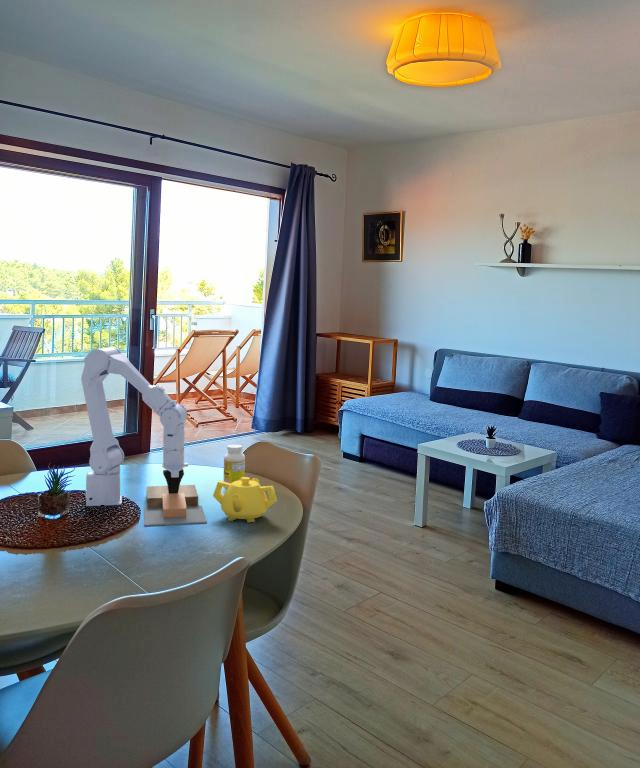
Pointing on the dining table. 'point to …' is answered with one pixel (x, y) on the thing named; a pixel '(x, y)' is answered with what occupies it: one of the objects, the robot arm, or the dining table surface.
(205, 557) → the dining table surface
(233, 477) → the supplement bottle
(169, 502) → the orange flat block
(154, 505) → the stand
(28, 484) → the dining table surface
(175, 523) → the mat
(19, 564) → the dining table surface
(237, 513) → the teapot
